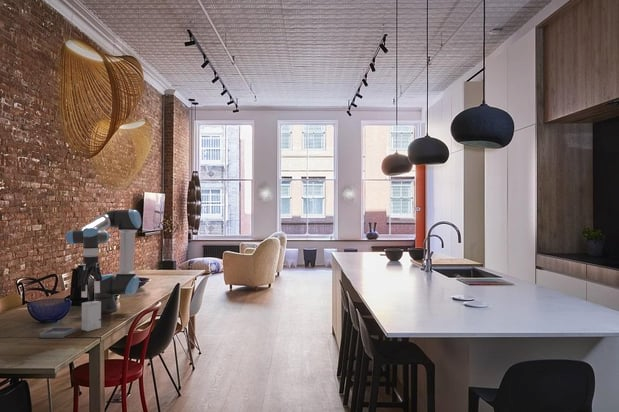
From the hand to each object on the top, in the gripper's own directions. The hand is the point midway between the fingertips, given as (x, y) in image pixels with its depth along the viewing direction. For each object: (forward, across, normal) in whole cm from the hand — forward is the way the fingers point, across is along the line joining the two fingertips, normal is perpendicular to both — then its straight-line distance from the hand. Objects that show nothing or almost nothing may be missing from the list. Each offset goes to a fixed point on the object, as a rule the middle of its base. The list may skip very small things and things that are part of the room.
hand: (90, 295), depth 258 cm
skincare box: (+19, 0, 0) cm, 19 cm away
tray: (+19, +10, -12) cm, 25 cm away
